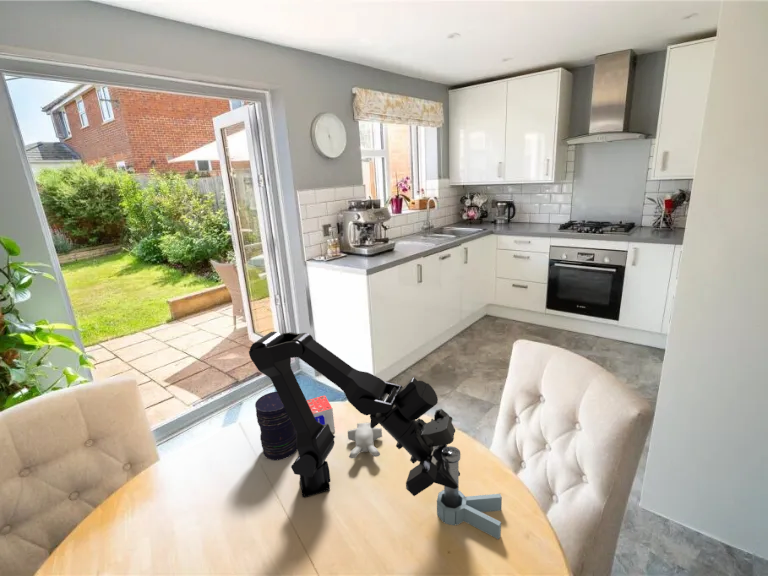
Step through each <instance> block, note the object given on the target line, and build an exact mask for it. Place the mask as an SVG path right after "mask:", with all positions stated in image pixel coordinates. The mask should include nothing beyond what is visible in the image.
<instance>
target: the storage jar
mask: <svg viewBox="0 0 768 576" xmlns="http://www.w3.org/2000/svg"><path fill="white" fill-rule="evenodd" d="M254 406H255V413H256V414H255V416H256V419H257V424H258V427H259V428H260V429H259V431H260V436H259V437H260V443H261V447H262V451H263V453H262V454H263V456H264V457H265V458H266V459H267V460H270V461H280V460H285V459H287V458H290V457H292V456H293V455H294V454H295V453H297V452H298V450H297V432H296V430H295V428H294V426H293V424H292V422H291V420H290V418H289V415H288V413H287V411H286V409H285V407H284V405H283V403H282V401H281V399H280V397H279V395H278V393H277V391H272V392H268V393H266V394H264V395H262V396H261V397H259V398H258V399H257V400H256V401H255V404H254Z"/></svg>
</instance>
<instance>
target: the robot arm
mask: <svg viewBox="0 0 768 576" xmlns="http://www.w3.org/2000/svg"><path fill="white" fill-rule="evenodd" d="M248 354H249V358H250V359H251V361H252V363H253V364H254V366H255V367H256V368H257V370H258V371H259V373H262V374H263V375H265V376H266V377H268V378H269V379H270V380H271V382H272V384H273V386H274V389H275V392H277V393H278V395H279V397H280V399H281V401H282V403H283V405H284V407H285V409H286V411H287V413H288V415H289V418H290V420H291V422H292V424H293V426H294V428H295V430H296V432H297V453H298V456H297V458H296V459H295V461H294V462H293V463H292V464H291V465H290V468H291V470H292V472H293V474H294V475H297V476H299V483H300V489H301V496H302V498H308V497H311V496H314V495H317V494H321V493H325V492H328V491H330V490H331V489H330V488H331V487H330V482H331V474H330V467H329V464H328V461H327V460H326V459H327V458H328V456H329V455H330V453H331V452H332V450H333V448H334V445H335V438H336V436H335V435H334V434H333V432H331V430H330V427H329V425H328V424H325V425H322V424H321V423H319V422H317V421H316V419H315V417H314V415H313V413H312V411H311V409H310V407H309V405H308V403H307V401H306V400H307V399H306V397H305V393H304V392H303V391H302V390H303V389H302V388H301V386H300V383H299V381H298V380H297V378H296V376H295V373H294V371H293V369H292V366H291V365H292V363H291V361H292V358H298V359H300V360H301V361H303V362H304V363H305V364H307V365H308V366H309V367H311V368H312V369H313V370H315V371H317V373H319V374H320V375H322V376H323V377H324V378H326V379H327V380H329V382H331V383H333V384H334V385H335V386H336V387H338V388H339V389H340V390H341V391H342V392H343V393H344V395H345V398H346V399H347V401H348V403H350V405H351V406H352V407H354V409H356V410H357V411H358V412H359V413H360V414H362V415H365V416H369V419H370V422H371V424H370V427H371V428H374V427H377V426H378V425H379V424H380V425H379V426H381V427H382V428H383V429H384V430H385V431H386V432H387V433H388V434H389V435H390V436H391V437H392V438H393V439H394V440H395V441H396V445H395V447H396V448H397V449H398V450H401V449H402V448H404V450H405V451H406V452H407V453H408V454H409V455H410V459H409V461H410V462H411V463H413V464H416V462H419V464H417V465H415V467H413V468H411V469H410V470H409V472H408V476H407V479H406V481H405V489H406V490H407V491H408V492H409V493H410V494H411V495H412V496H413V497H415V496H417V495H418V494H420V493H422V492H423V491H425V490H426V489H427V488H429V487H431V486H432V485H433V484H434V483H435V484H437V485H441V486H443V487H444V486H446V487H449V488H452V489H456V488H458V484H457V483H456V482H455V480H454V479H453V478H452V477H451V476H450V475H449V473H448V472H447V471H446V470H445V469H444V460H443V459H442V449H443V448H445V447H448V445H449V444H451V443H453V442H454V439H455V433H456V428H455V427H454V425H453V423H452V422H453V417H452V416H450V415H449V414H448V413H447V412H446V411H445V410H443V409H442V408H439V409H436V410H435V412H434V416H433V418H431V420H430V421H428V422H426V421H424V419H421V417H422V416H423V415H425V414H426V413H427V412H428V411H430V410H431V409H432V408H434V407H435V406H436V405H438V403H439V401H438V395H437V393H436V391H435V389H434V388H433V387H432V386H431V385H430V383H427V382H426V381H424V380H418V379H416V378H415V377H412V378H410V379H409V381H408V382H407V383H405V385H400V384H396V383H393V382H388V381H385V380H383V379H382V378H379V376H376V375H374V374H372V373H370V372H367V371H361V370H358V369H356V368H354V367H353V366H351V365H350V364H348V363H347V362H345V360H343V359H341V358H340V357H339V356H338V355H336V354H334V353H333V352H332V351H330V350H329V349H327V348H326V347H325V346H323V345H322V344H321V343H319V342H318V341H316V340H315V339H314V337H313V336H312V335H311V333H307V332H302V333H297V332H291V331H289V332H283V333H282V332H281V333H280V332H278V331H270V332H269V333H267V334H265V335H264V336H263V337H261V338H259V339H258V340H257V341H255V342H254V343H252V344H251V346H250V347H249V351H248ZM460 476H461V472H460V471H459V477H460Z"/></svg>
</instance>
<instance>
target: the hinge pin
mask: <svg viewBox="0 0 768 576" xmlns="http://www.w3.org/2000/svg"><path fill="white" fill-rule="evenodd" d="M442 459H443V460H444V469H445V470H446V471H447V472H448V473H449V475H450V476H451V477H452V478H453V479H454V480H455V482H456V483H457V484H458V488H456V489H452V488H449V487H446V486H443V490H444V505H445V507H448V508H453V509H455V508H457V507H459V491H460V489H459V488H460V487H459V484H460V483H459V477H460V476H459V472H460V470H459V468H460V467H459V462H460V461H461V450H460V449H459V448H457V447H456V446H451V445H450V446H449V445H447V447H445V448H443V449H442Z"/></svg>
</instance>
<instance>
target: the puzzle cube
mask: <svg viewBox="0 0 768 576" xmlns="http://www.w3.org/2000/svg"><path fill="white" fill-rule="evenodd" d="M306 401H307V403H308V405H309V407H310V409H311V411H312V413H313V415H314V417H315V419H316V421H317V422H319V423H321V424H322V425H325V424H328V425H329V427H330V430H331V432H332V433H335V432H336V427H335V419H334V418H335V417H334V411H333V407H332V405H331V404H330V402H329V400H328V398H327V396H326V395H321V396H318V397H314V398H311V399H306Z"/></svg>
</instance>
